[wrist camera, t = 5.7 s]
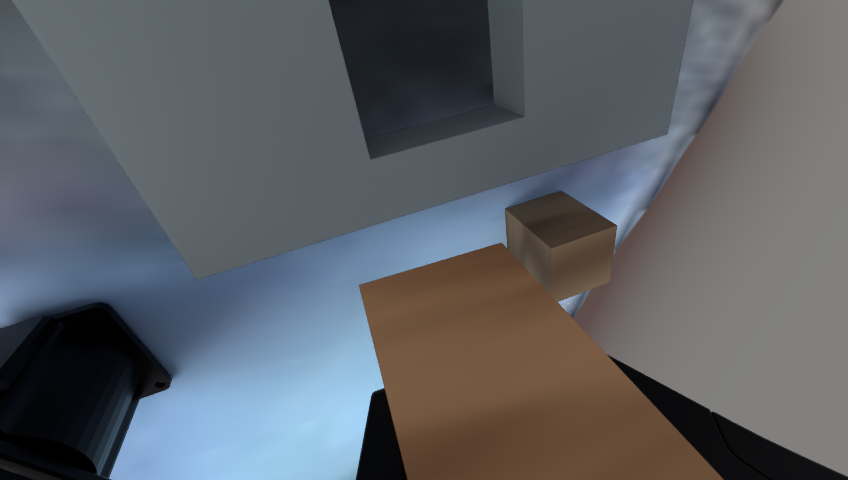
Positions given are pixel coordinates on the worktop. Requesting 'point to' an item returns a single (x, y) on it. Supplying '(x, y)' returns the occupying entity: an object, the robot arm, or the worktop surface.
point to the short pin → (561, 243)
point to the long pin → (509, 382)
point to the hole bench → (341, 111)
